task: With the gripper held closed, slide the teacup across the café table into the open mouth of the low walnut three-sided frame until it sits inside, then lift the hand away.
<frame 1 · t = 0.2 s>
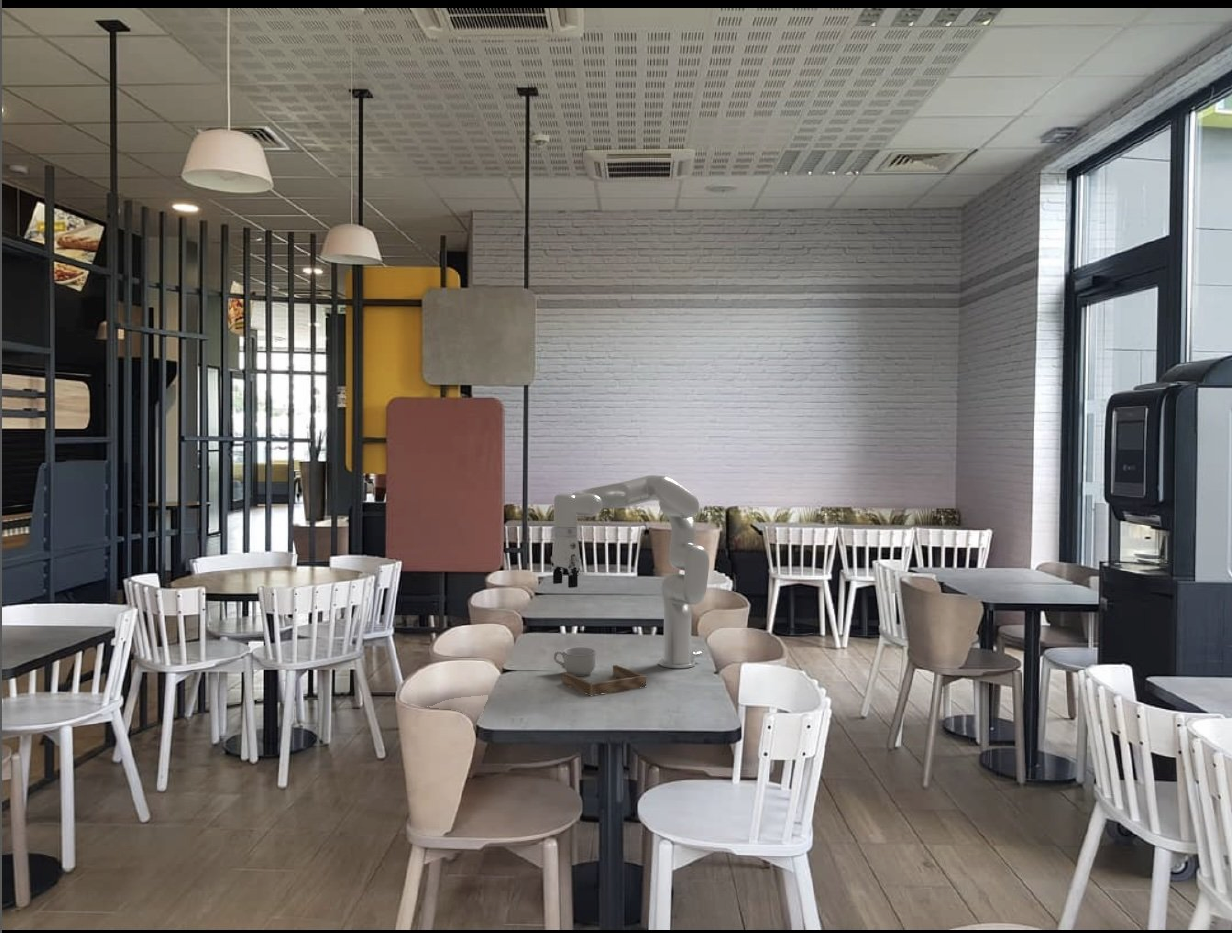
hand: (565, 585, 314), 31 cm above the table, tool pointing down, fingers open, 9 cm apart
corral: (603, 685, 309), on the table
teacup: (574, 674, 324), on the table
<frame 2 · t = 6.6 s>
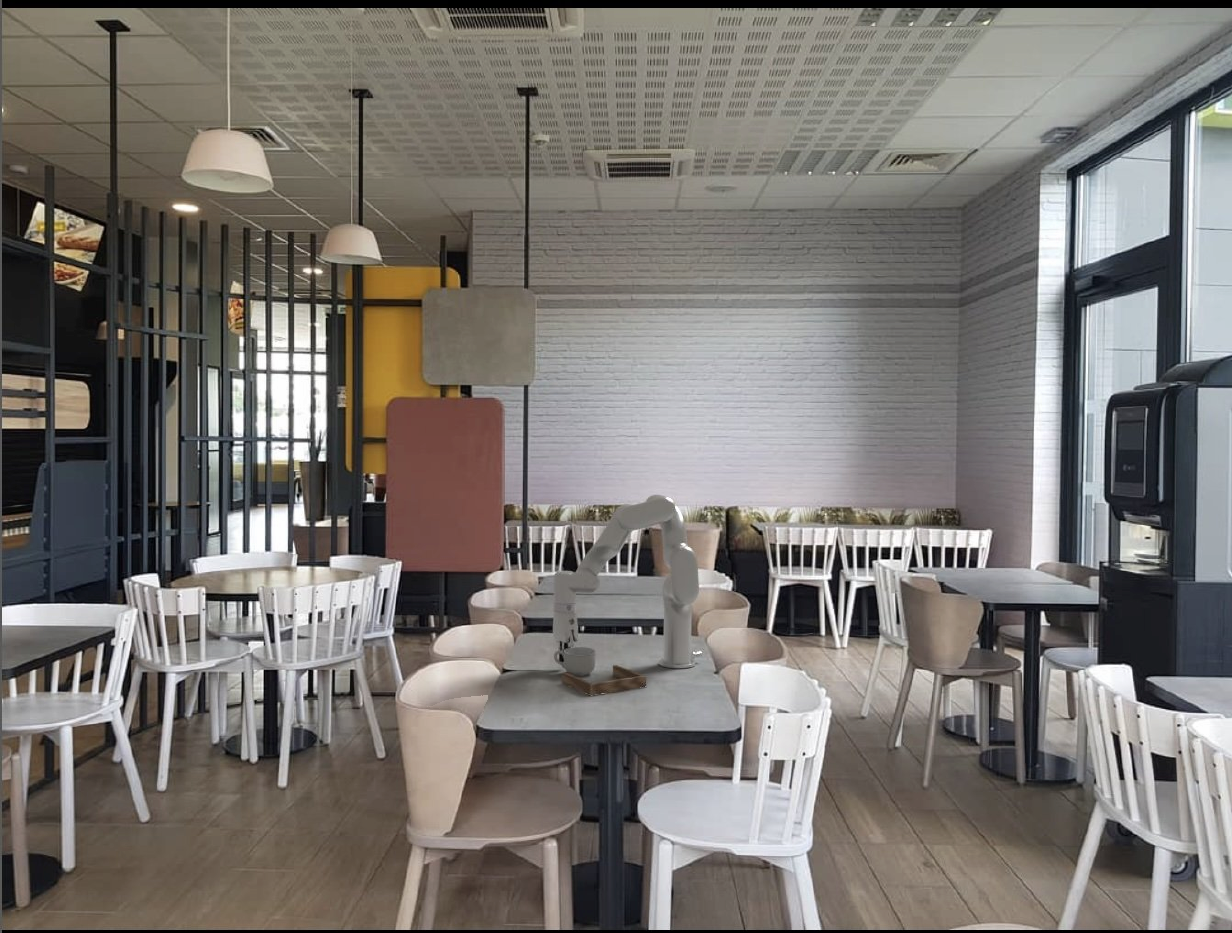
hand: (564, 661, 330), 3 cm above the table, tool pointing down, fingers closed
teacup: (575, 674, 324), on the table, touching gripper
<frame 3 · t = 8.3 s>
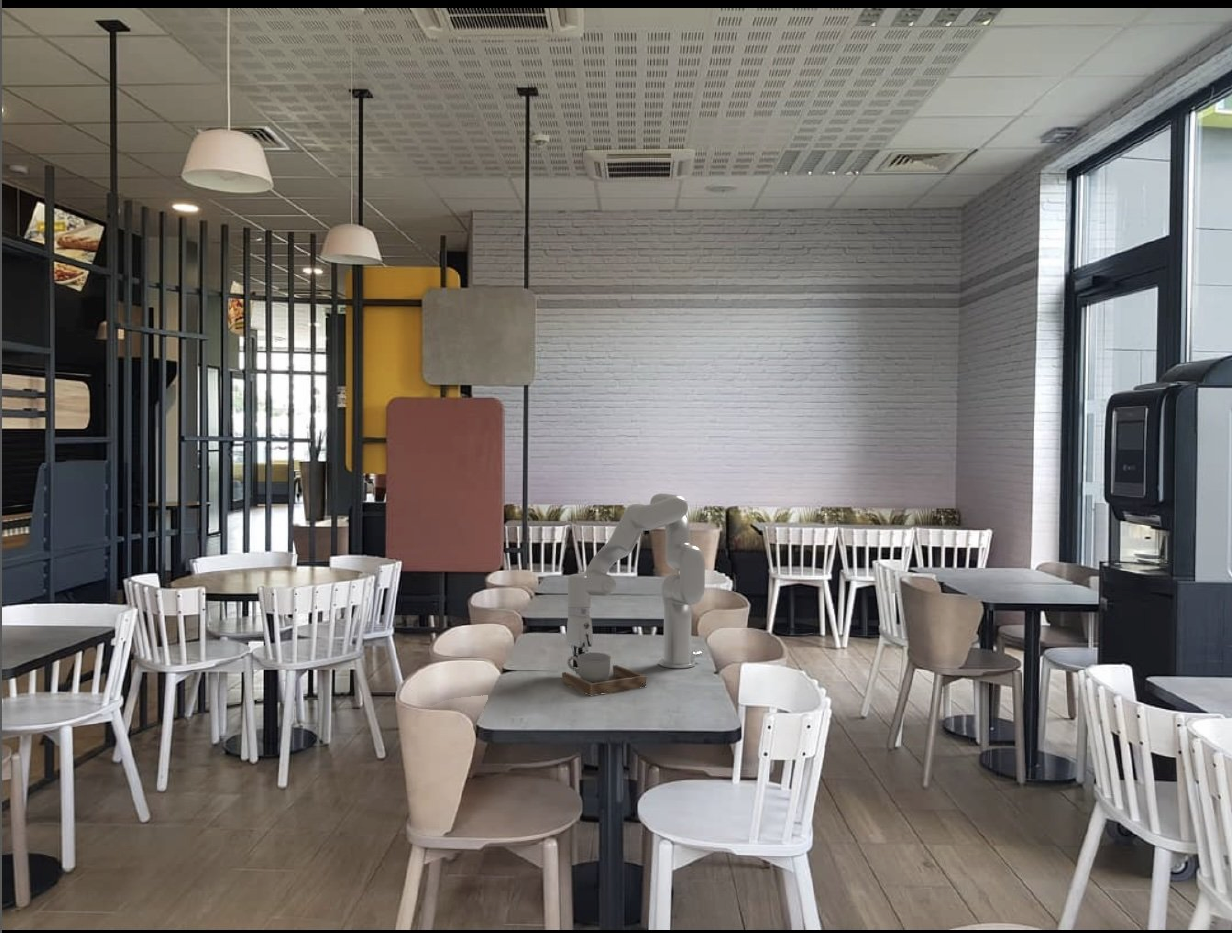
hand: (578, 666, 322), 3 cm above the table, tool pointing down, fingers closed
teacup: (589, 680, 316), on the table, touching gripper
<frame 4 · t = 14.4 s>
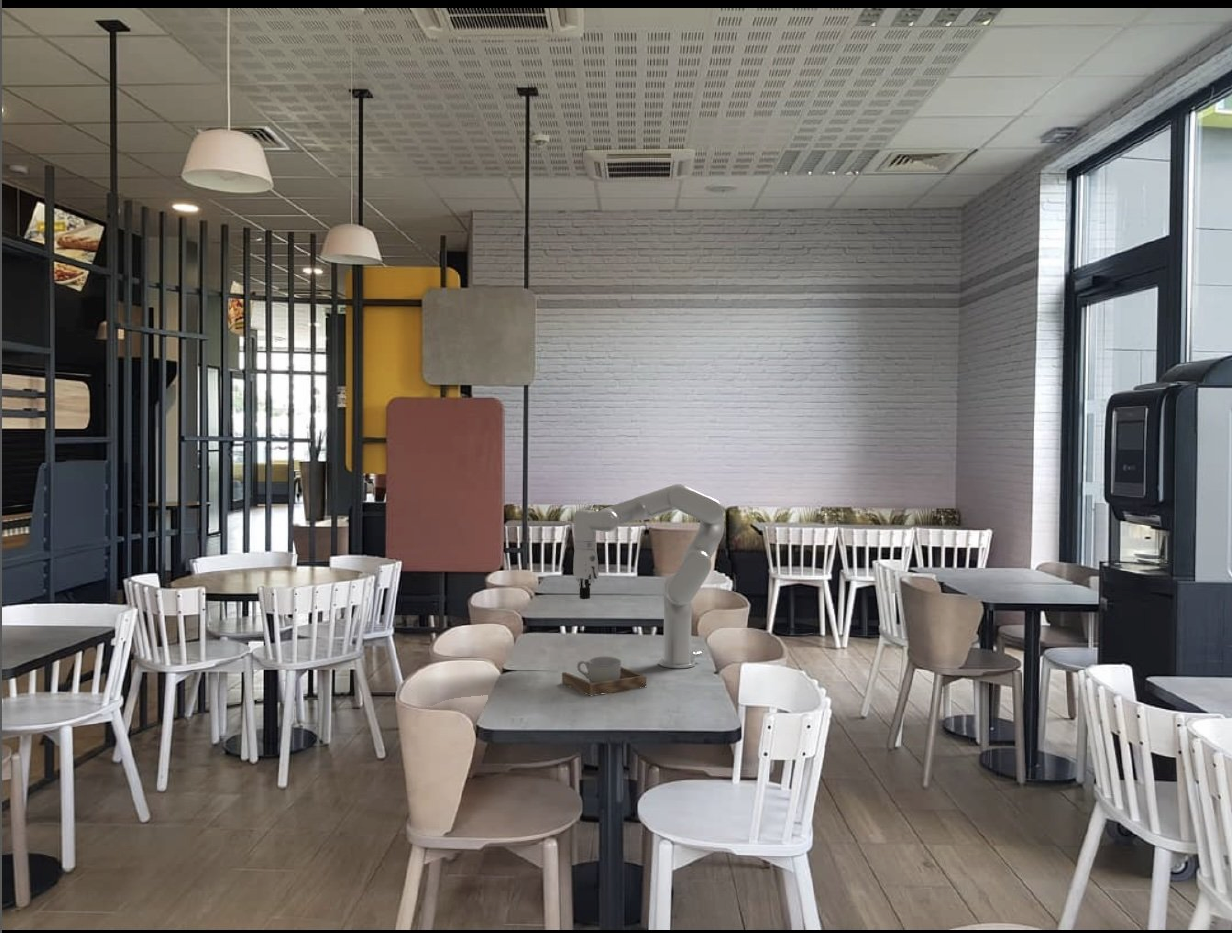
hand: (584, 598, 336), 23 cm above the table, tool pointing down, fingers closed
teacup: (599, 685, 310), on the table
at the end: teacup inside the target area (1.7 cm from its centre), on the table; teacup tilted 0°; teacup moved 16.5 cm from its start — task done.
